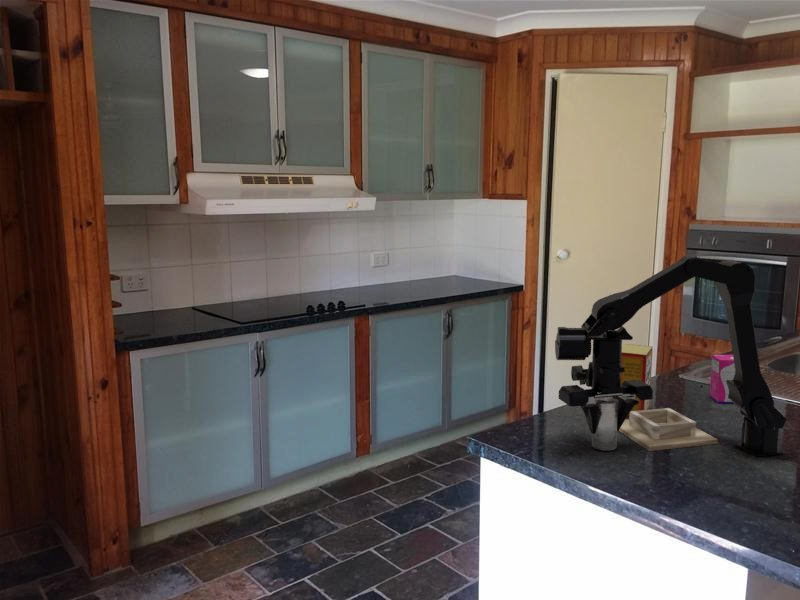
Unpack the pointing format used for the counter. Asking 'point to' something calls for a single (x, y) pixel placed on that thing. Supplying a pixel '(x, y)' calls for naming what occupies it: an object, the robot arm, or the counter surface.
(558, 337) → the robot arm
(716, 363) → the supplement box
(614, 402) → the aluminium peg
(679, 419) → the square peg hole base
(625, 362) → the baking soda box
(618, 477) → the counter surface
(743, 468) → the counter surface
